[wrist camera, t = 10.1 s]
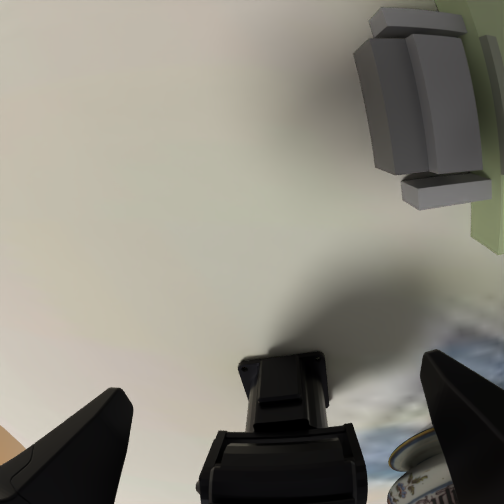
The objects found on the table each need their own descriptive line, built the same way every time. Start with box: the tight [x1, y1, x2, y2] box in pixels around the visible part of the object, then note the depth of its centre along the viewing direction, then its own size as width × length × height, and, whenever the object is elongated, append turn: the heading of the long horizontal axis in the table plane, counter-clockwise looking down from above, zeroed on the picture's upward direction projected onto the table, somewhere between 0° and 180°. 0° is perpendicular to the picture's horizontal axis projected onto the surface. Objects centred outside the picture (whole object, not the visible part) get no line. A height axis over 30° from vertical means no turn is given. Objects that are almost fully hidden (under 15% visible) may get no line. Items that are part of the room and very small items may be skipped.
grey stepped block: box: [353, 34, 483, 175], centre depth 13 cm, size 7×5×4 cm
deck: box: [369, 0, 504, 255], centre depth 12 cm, size 18×14×4 cm
